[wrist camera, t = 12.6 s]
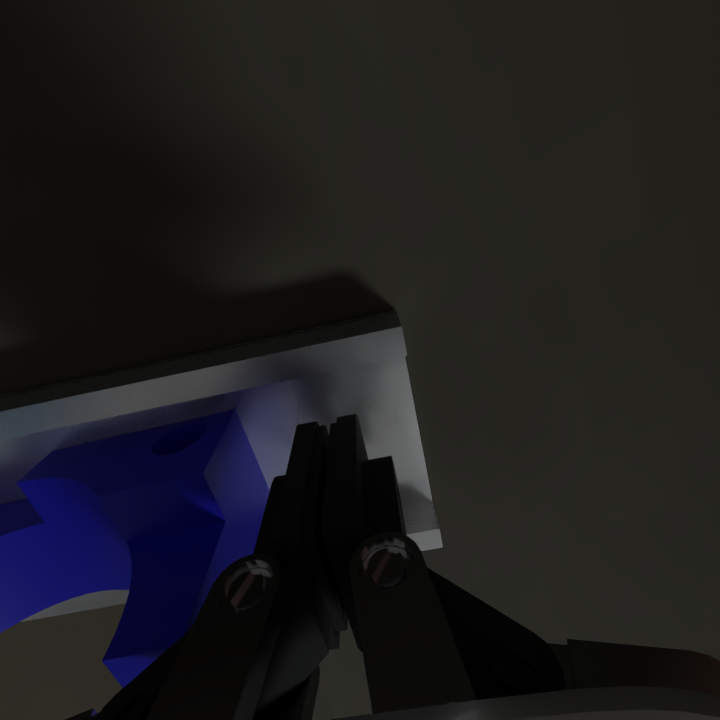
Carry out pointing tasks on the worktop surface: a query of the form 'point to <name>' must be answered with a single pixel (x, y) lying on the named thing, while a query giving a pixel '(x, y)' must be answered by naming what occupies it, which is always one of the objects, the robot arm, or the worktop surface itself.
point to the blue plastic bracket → (134, 529)
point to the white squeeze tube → (238, 410)
